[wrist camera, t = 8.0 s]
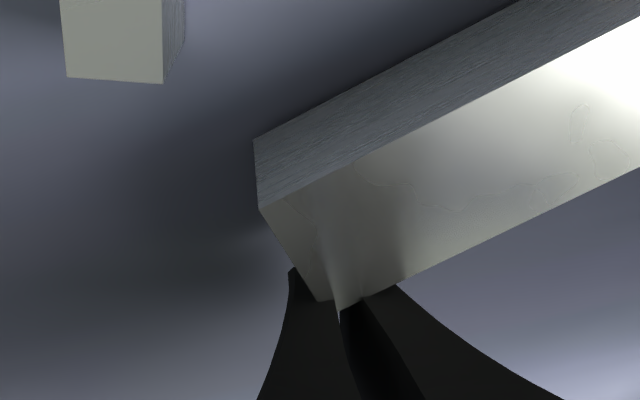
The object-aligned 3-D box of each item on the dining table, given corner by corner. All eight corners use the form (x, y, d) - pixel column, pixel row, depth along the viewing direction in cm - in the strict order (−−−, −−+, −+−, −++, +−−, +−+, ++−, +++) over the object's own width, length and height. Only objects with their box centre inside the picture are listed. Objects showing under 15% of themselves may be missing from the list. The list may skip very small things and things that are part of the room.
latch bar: (751, -133, 9) (992, -164, 6) (758, 12, 11) (960, 43, 8) (247, 131, 10) (252, 212, 7) (310, 235, 12) (336, 340, 9)
